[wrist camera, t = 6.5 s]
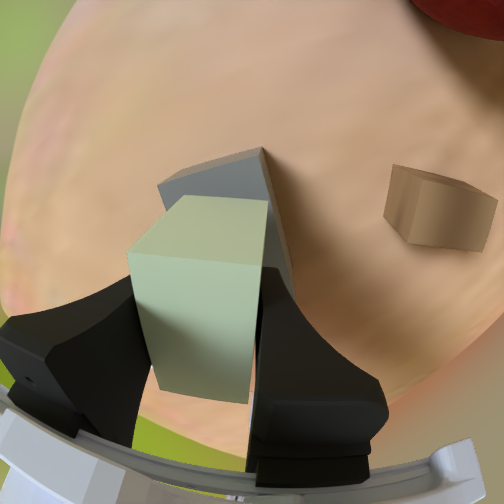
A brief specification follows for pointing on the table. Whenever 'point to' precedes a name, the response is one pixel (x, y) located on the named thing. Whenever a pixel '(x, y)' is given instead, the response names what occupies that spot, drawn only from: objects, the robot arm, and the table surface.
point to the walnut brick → (438, 210)
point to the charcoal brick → (237, 186)
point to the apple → (468, 16)
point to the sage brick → (201, 294)
